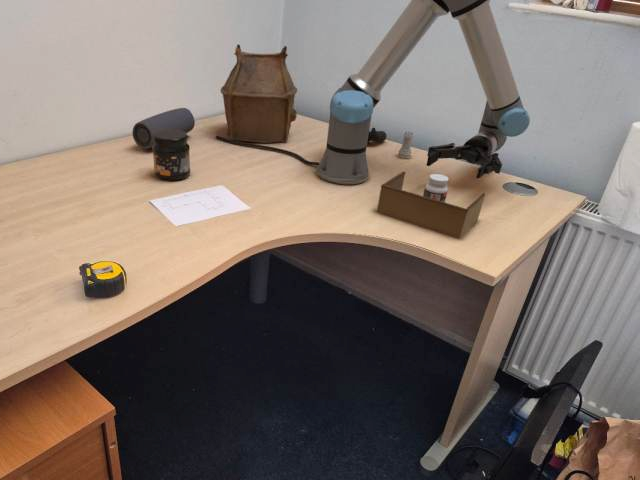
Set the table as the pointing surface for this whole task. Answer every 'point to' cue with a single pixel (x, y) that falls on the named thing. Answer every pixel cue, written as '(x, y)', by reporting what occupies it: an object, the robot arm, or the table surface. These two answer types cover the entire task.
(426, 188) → the pill bottle
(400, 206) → the brown u-shaped partition wall
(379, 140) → the gaming controller
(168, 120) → the bluetooth speaker
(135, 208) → the table surface
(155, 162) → the supplement container
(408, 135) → the rook chess piece
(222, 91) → the hut
